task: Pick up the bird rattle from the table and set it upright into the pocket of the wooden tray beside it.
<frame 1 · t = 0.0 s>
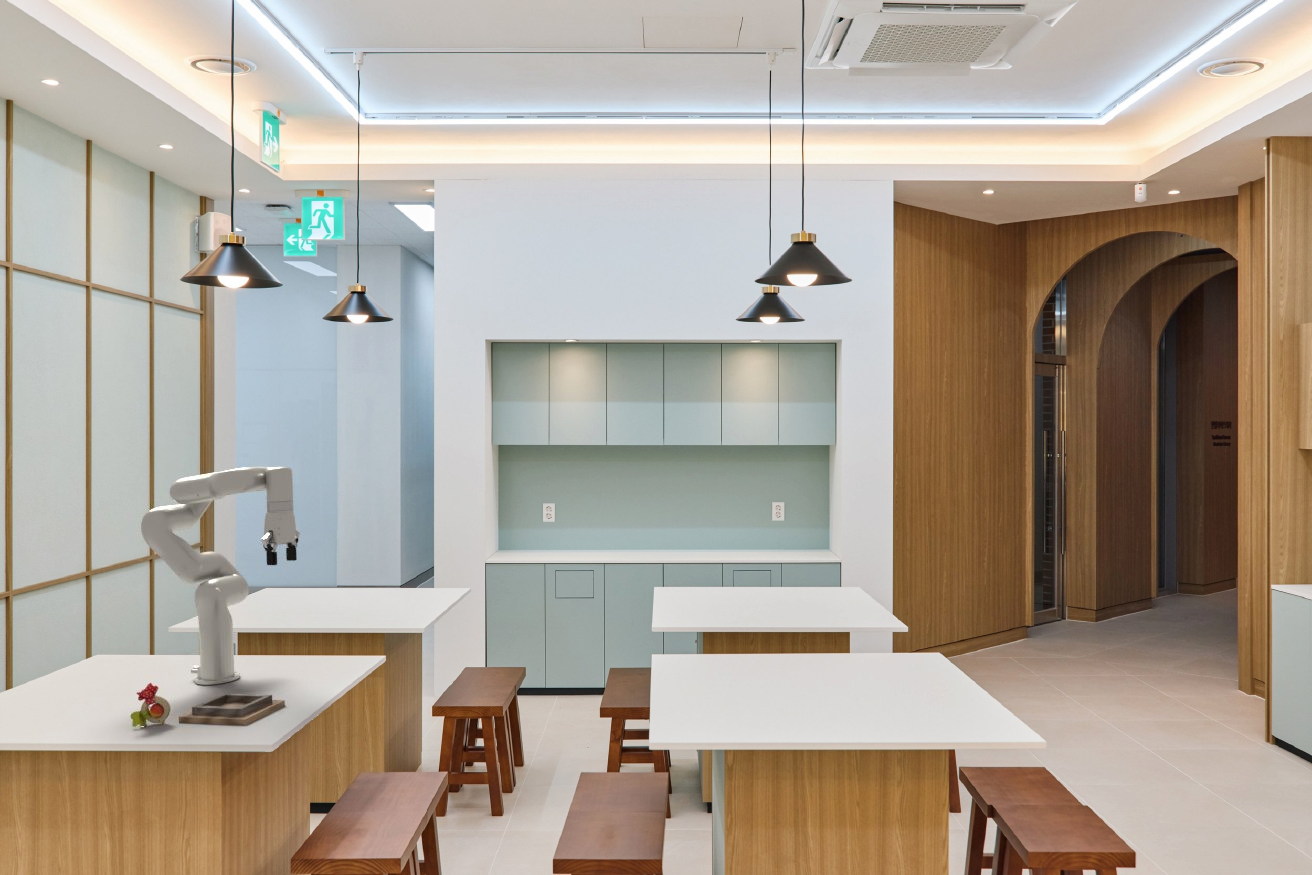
hand: (281, 562, 277), 37 cm above the table, tool pointing down, fingers open, 9 cm apart
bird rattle: (152, 725, 238), on the table
wooden tray: (233, 713, 246), on the table
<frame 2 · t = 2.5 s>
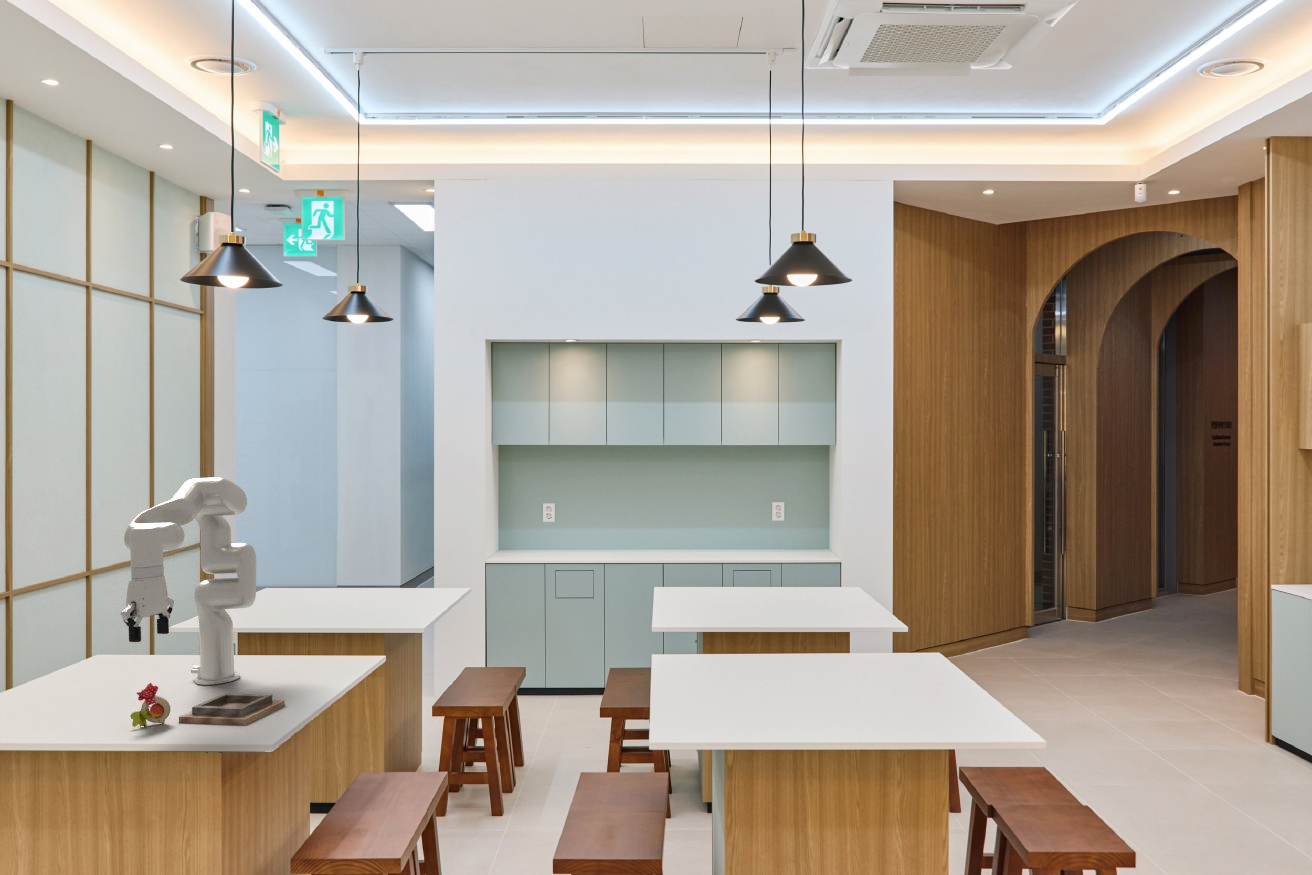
hand: (149, 637, 238), 23 cm above the table, tool pointing down, fingers open, 9 cm apart
nothing on the table moved.
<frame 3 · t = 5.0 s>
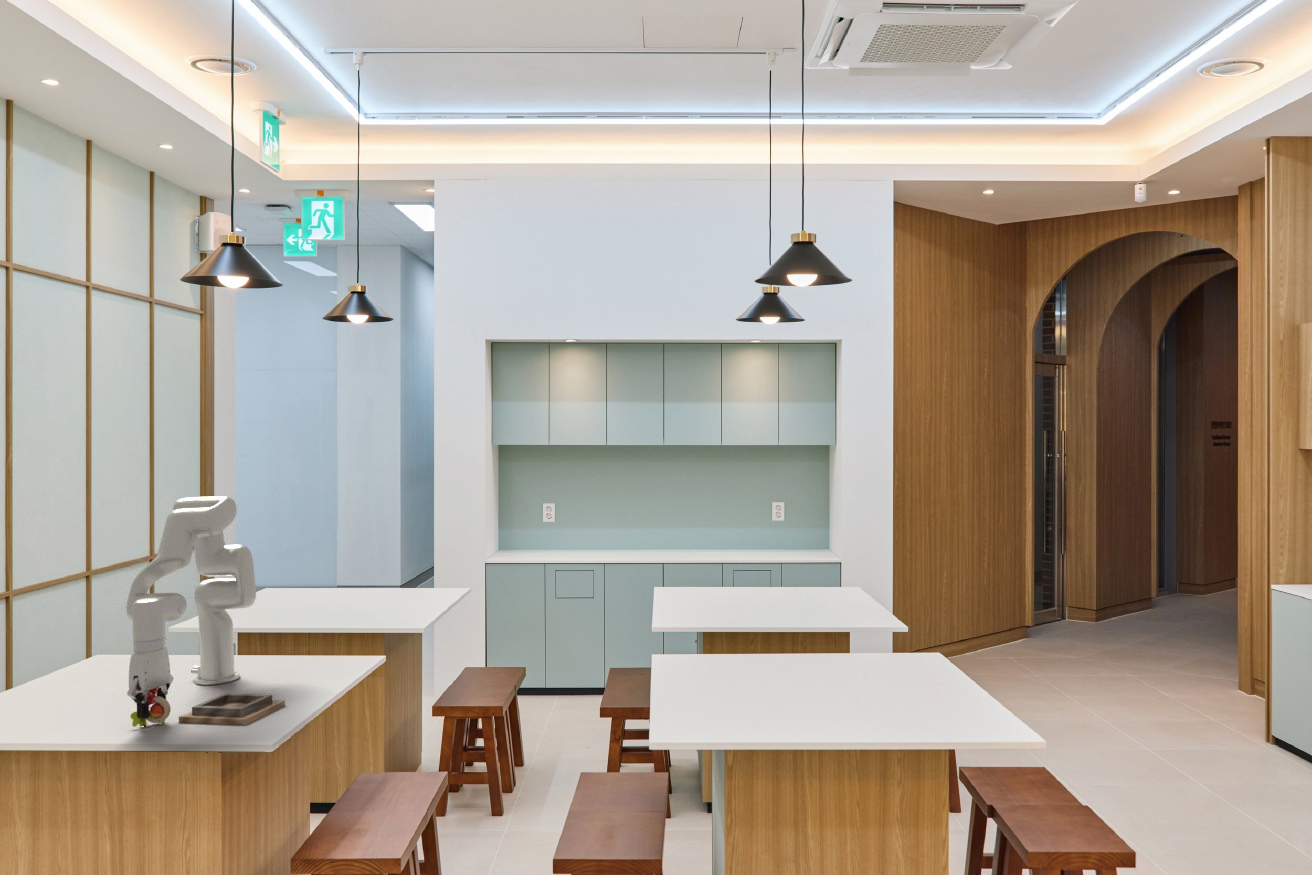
hand: (151, 713, 238), 3 cm above the table, tool pointing down, fingers open, 5 cm apart
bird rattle: (152, 725, 238), on the table, touching gripper
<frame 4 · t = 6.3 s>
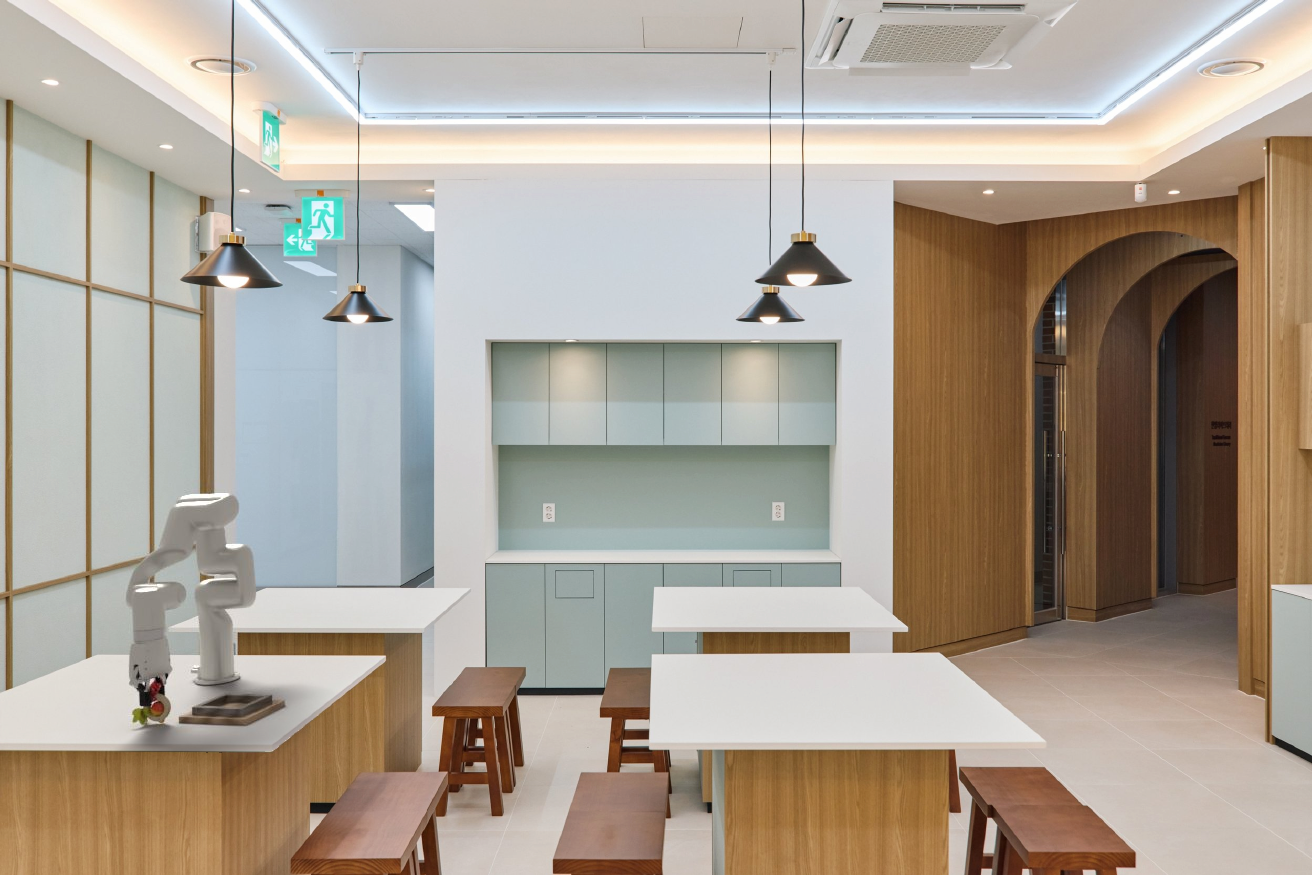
hand: (152, 702, 239), 6 cm above the table, tool pointing down, fingers closed on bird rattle, 4 cm apart
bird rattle: (152, 723, 239), on the table, touching gripper
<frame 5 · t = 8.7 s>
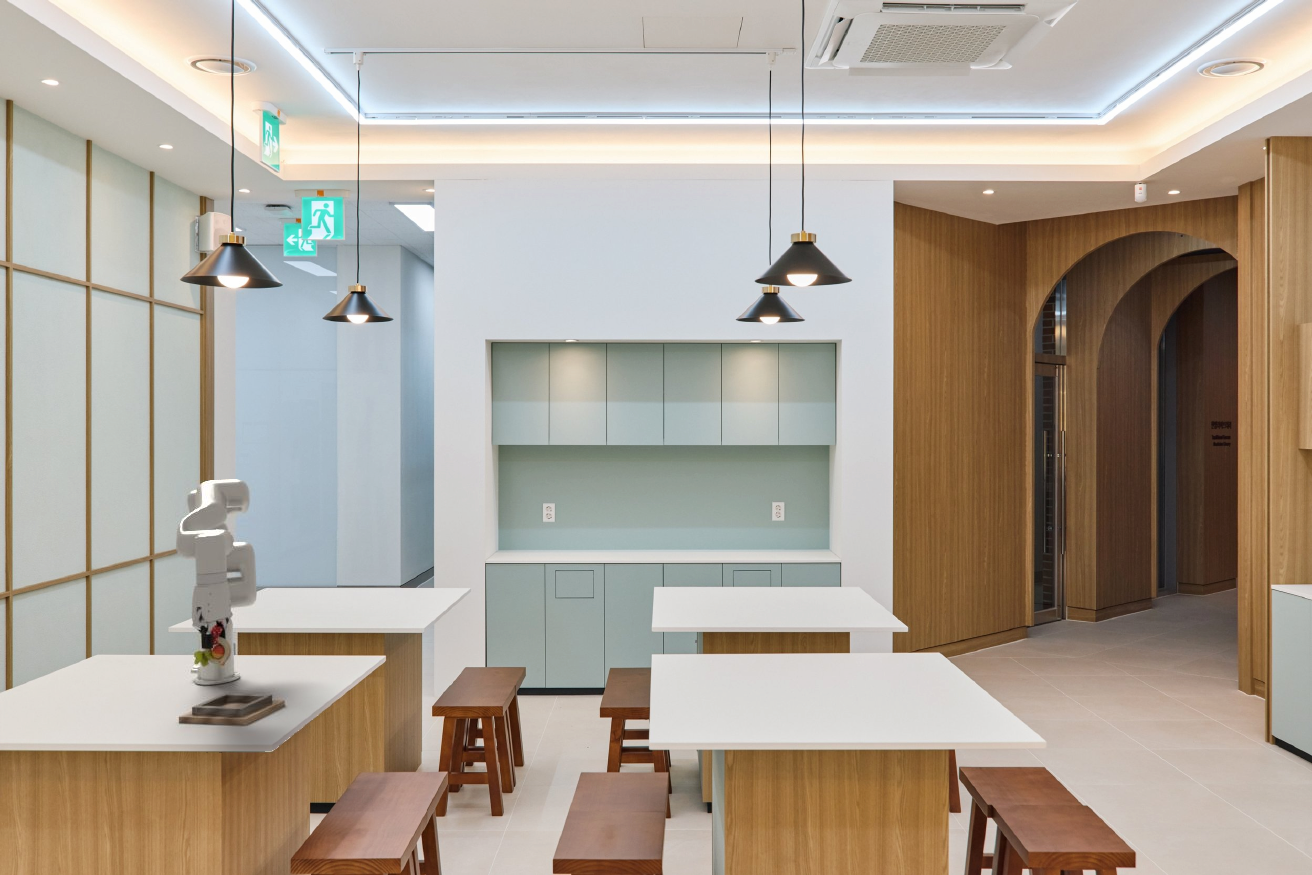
hand: (213, 645, 244), 19 cm above the table, tool pointing down, fingers closed on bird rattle, 4 cm apart
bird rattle: (213, 666, 244), point 13 cm above the table, touching gripper
when the fingers open (7 cm above the table, at t = 11.2 s): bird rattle stays where it is, resting on wooden tray.
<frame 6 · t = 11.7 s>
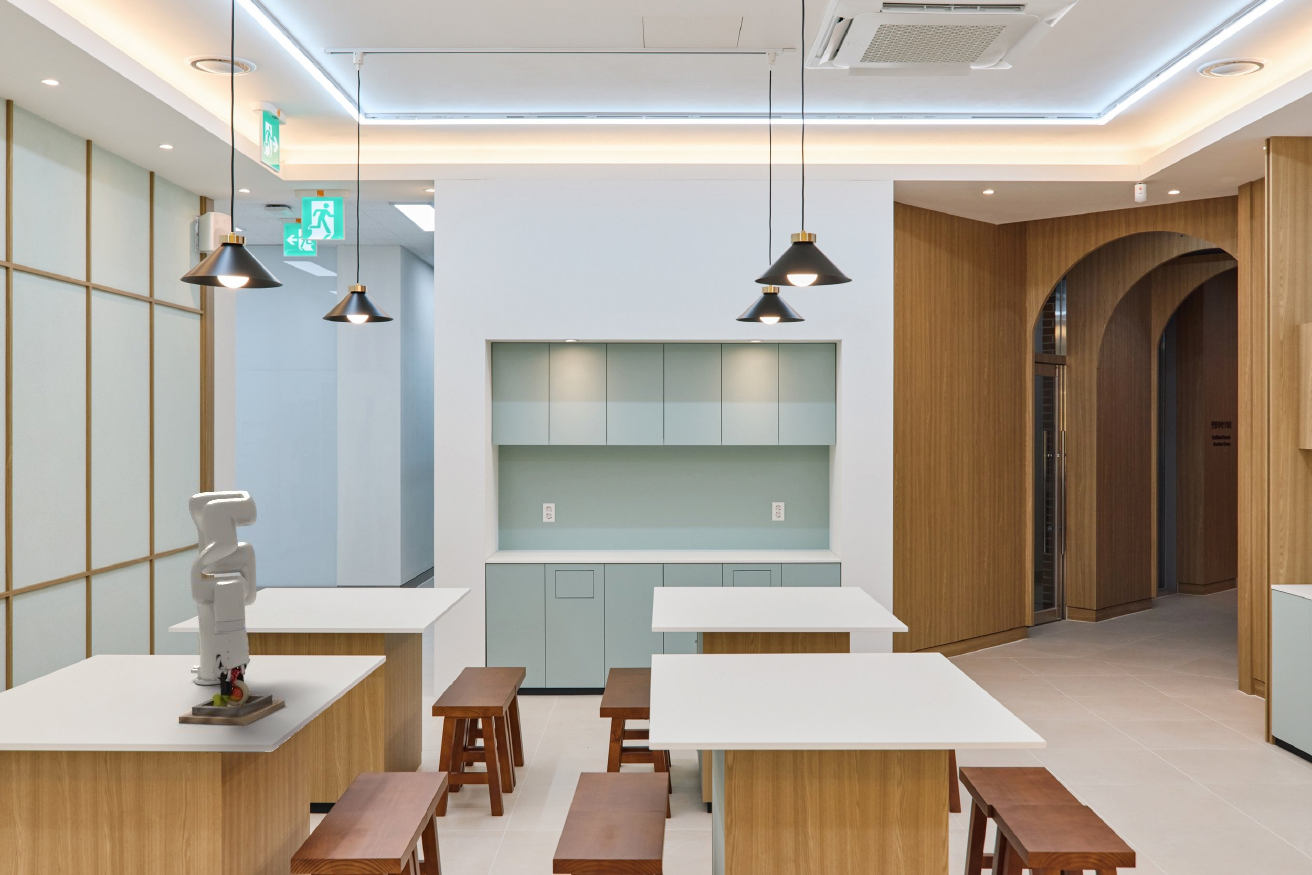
hand: (232, 691, 246), 6 cm above the table, tool pointing down, fingers open, 4 cm apart
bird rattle: (231, 708, 245), point 1 cm above the table, touching wooden tray, gripper
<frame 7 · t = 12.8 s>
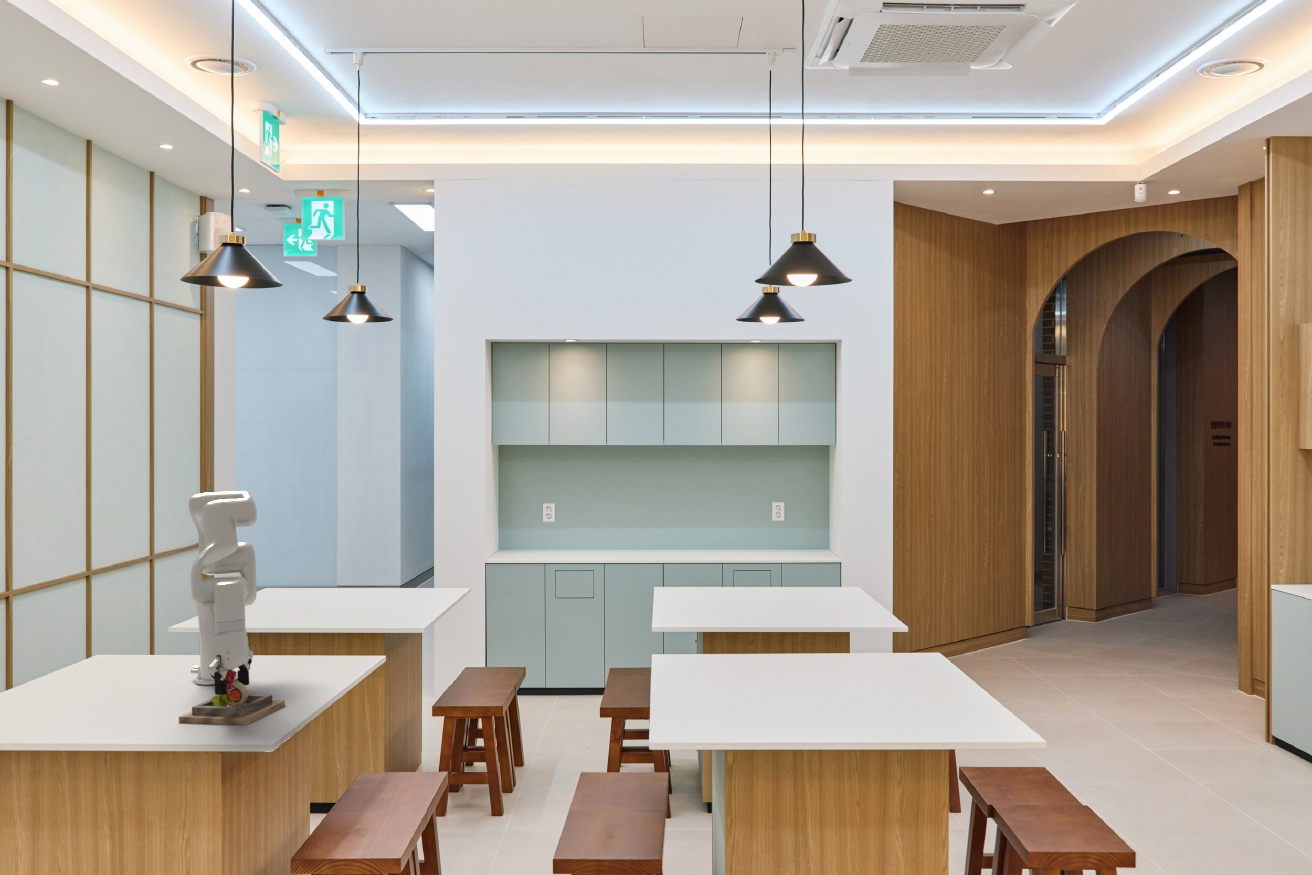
hand: (232, 689, 246), 7 cm above the table, tool pointing down, fingers open, 8 cm apart
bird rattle: (231, 709, 245), point 1 cm above the table, touching wooden tray
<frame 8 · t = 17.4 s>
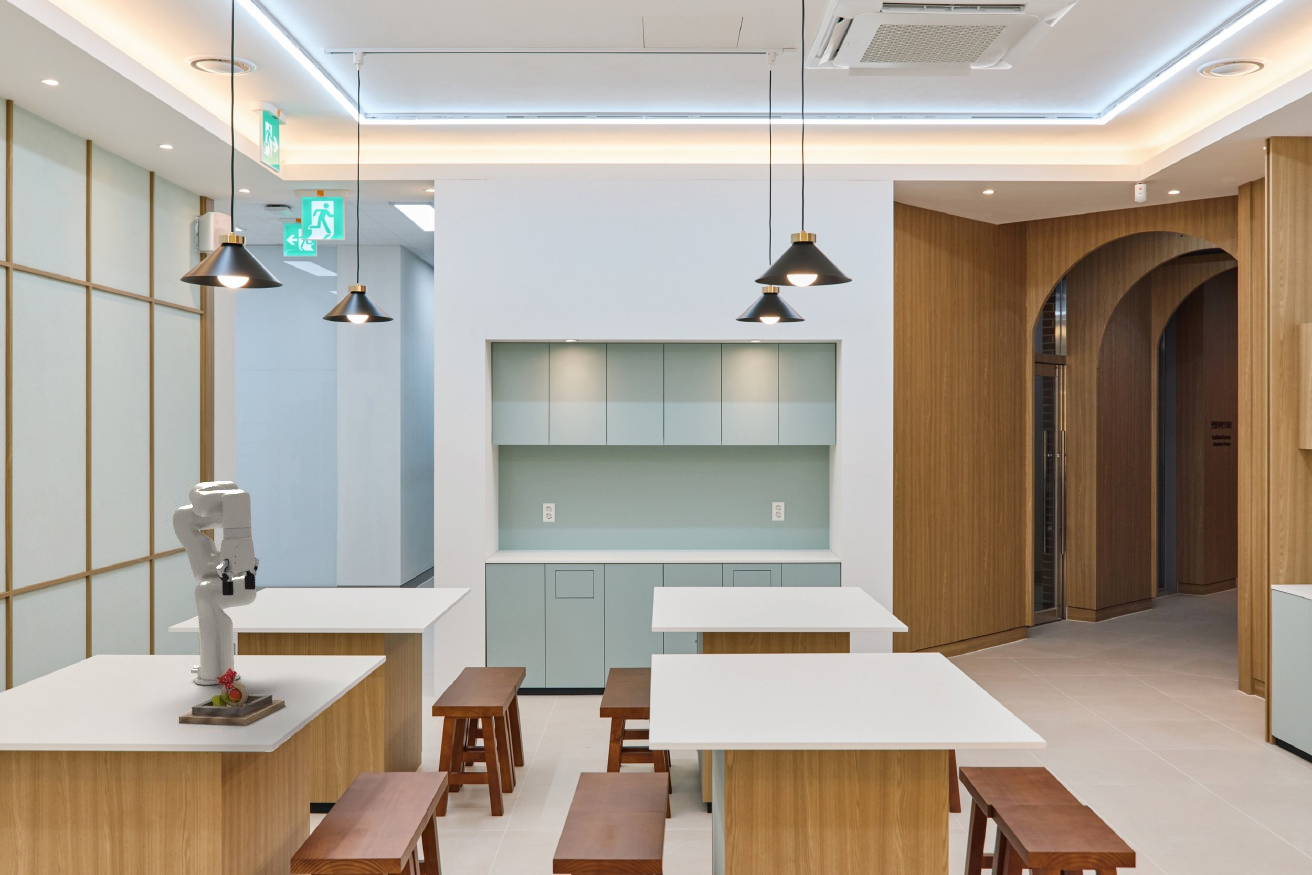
hand: (239, 592, 263), 30 cm above the table, tool pointing down, fingers open, 9 cm apart
nothing on the table moved.
at the end: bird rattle 0.5 cm off-centre on the wooden tray, point 1.3 cm above the wooden tray's base; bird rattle tilted 0°; the gripper is holding nothing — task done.
